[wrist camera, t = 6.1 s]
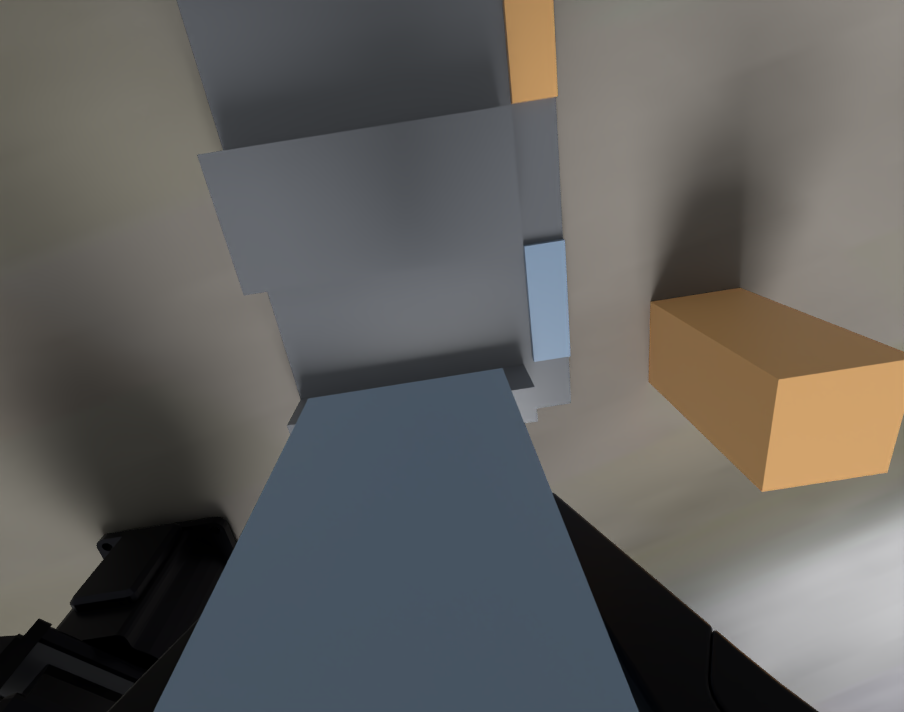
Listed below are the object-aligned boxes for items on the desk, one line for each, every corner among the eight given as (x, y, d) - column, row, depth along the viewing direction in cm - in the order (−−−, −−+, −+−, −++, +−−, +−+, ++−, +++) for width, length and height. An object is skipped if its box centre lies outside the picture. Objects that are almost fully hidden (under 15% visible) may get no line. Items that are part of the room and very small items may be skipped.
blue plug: (519, 520, 11) (724, 1267, 3) (352, 546, 11) (204, 1349, 3) (502, 368, 9) (805, 1128, 2) (308, 398, 9) (-125, 1271, 2)
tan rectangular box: (731, 368, 22) (887, 472, 15) (648, 381, 22) (761, 491, 15) (739, 287, 20) (918, 357, 13) (650, 301, 20) (778, 379, 13)
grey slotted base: (566, 395, 22) (586, 428, 19) (318, 433, 22) (302, 472, 19) (534, -174, 14) (561, -257, 11) (151, -112, 14) (85, -179, 11)
